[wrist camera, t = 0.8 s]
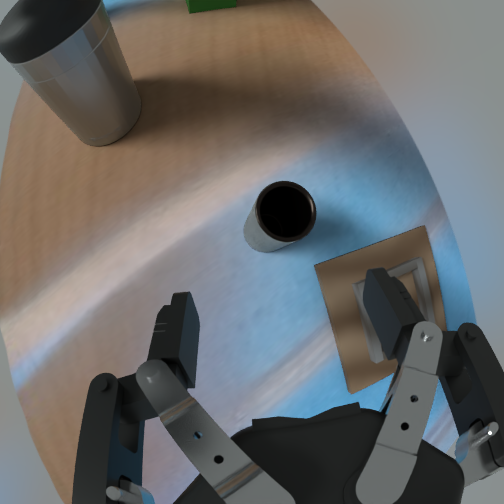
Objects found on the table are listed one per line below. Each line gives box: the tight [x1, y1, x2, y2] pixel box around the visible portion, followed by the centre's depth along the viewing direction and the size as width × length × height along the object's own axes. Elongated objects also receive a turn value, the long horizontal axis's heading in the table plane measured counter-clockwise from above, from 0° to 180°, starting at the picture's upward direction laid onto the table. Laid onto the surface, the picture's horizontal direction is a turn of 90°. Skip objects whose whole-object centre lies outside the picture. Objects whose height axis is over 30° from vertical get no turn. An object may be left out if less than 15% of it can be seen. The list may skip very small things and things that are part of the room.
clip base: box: [314, 225, 447, 394], centre depth 30 cm, size 16×16×2 cm
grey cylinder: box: [244, 181, 316, 252], centre depth 25 cm, size 4×4×10 cm
